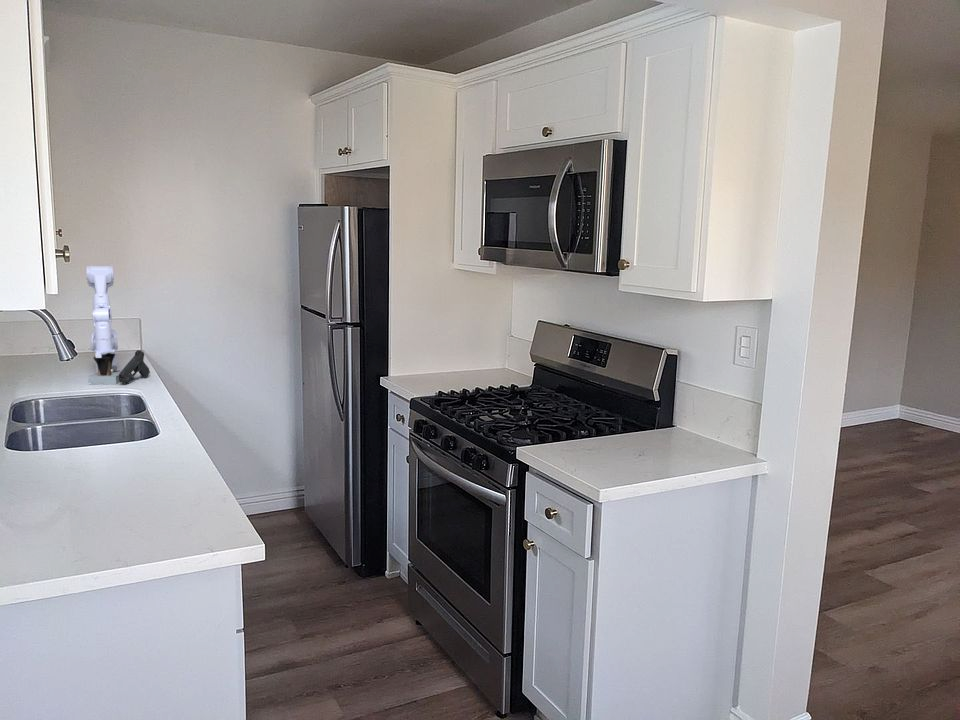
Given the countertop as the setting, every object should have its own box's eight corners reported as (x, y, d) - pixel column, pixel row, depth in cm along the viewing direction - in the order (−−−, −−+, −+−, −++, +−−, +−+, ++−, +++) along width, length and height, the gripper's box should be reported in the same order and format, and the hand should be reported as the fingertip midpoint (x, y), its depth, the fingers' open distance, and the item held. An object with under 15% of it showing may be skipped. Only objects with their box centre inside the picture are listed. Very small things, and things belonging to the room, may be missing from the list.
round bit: (107, 377, 303) (106, 365, 302) (119, 377, 304) (118, 365, 303) (104, 379, 299) (103, 367, 298) (116, 379, 299) (115, 367, 299)
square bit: (101, 378, 295) (100, 361, 294) (111, 378, 296) (109, 360, 295) (98, 380, 292) (97, 362, 291) (108, 380, 292) (107, 362, 291)
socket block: (96, 380, 298) (95, 372, 297) (123, 379, 299) (122, 372, 299) (88, 384, 289) (87, 376, 288) (116, 384, 290) (115, 376, 290)
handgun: (151, 372, 307) (143, 348, 300) (130, 398, 292) (121, 372, 286) (145, 372, 307) (137, 347, 300) (125, 398, 293) (116, 372, 286)
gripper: (108, 341, 285) (110, 376, 287) (120, 336, 299) (122, 370, 301) (88, 341, 284) (90, 377, 286) (101, 336, 298) (103, 370, 300)
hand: (105, 373), depth 293 cm, fingers open, 4 cm apart
